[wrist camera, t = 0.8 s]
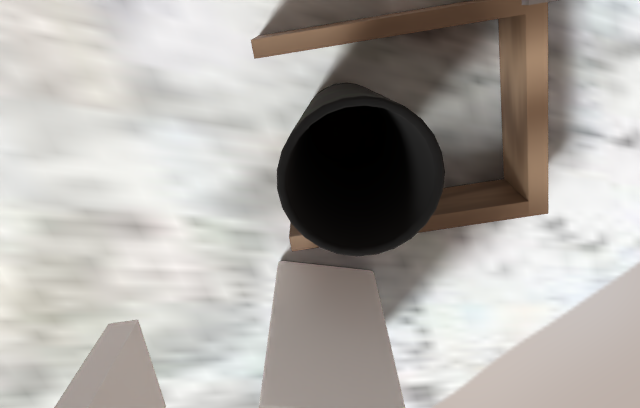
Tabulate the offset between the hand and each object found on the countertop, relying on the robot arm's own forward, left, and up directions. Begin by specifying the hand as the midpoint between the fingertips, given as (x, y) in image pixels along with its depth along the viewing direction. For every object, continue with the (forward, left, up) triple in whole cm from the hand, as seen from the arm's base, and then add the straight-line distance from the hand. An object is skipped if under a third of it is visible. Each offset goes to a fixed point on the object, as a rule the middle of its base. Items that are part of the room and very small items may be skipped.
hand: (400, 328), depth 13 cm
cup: (0, 0, -24) cm, 24 cm away
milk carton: (+13, -4, -24) cm, 27 cm away
